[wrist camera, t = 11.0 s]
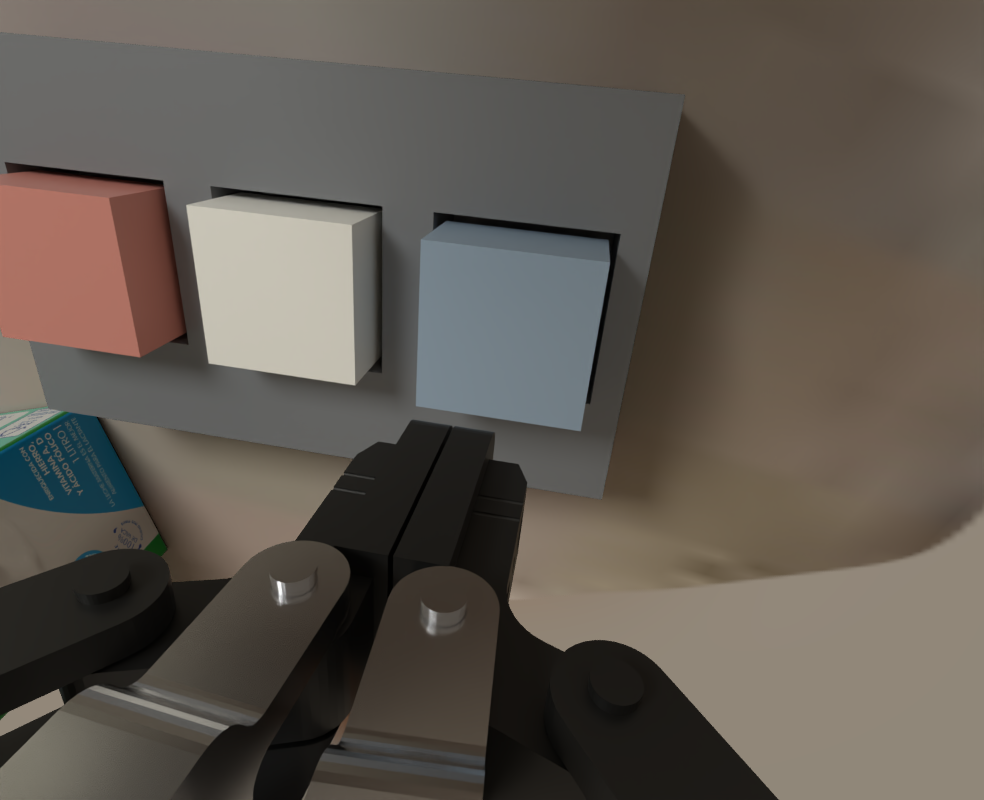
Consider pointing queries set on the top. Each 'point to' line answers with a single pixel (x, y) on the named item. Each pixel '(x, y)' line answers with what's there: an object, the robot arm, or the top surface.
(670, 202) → the top surface
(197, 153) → the key panel
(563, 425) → the blue key
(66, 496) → the milk carton
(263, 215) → the white key
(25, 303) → the red key
